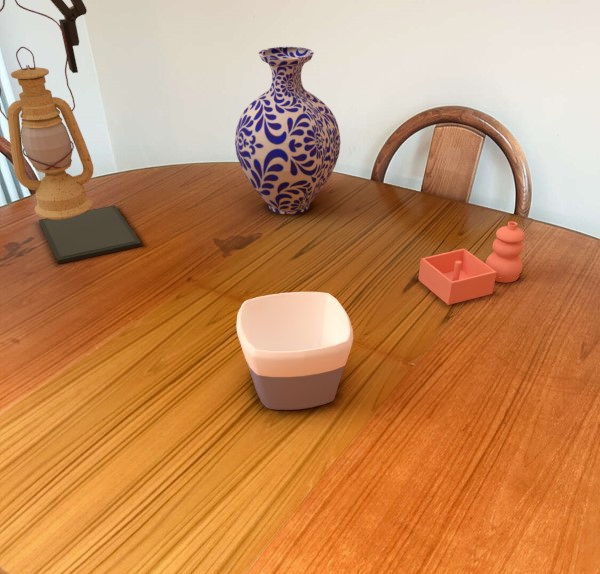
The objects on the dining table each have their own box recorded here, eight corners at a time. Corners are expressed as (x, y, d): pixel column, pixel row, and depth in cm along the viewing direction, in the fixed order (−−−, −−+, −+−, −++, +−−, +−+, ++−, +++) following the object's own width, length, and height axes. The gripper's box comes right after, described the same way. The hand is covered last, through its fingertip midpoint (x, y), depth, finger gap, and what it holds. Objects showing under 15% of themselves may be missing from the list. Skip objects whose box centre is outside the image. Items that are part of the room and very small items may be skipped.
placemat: (58, 264, 123) (57, 259, 122) (39, 223, 136) (38, 219, 136) (141, 246, 128) (141, 241, 127) (115, 208, 142) (114, 204, 141)
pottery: (448, 305, 111) (456, 251, 104) (418, 279, 117) (424, 228, 111) (533, 282, 116) (546, 231, 110) (500, 259, 123) (511, 209, 117)
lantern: (99, 191, 113) (55, -12, 94) (103, 214, 106) (56, -1, 87) (27, 200, 111) (-34, -7, 91) (25, 224, 103) (-41, 5, 84)
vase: (219, 204, 143) (205, 52, 124) (292, 178, 154) (290, 35, 135) (284, 236, 131) (281, 73, 112) (358, 206, 142) (367, 53, 123)
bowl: (335, 349, 101) (338, 285, 94) (359, 413, 89) (364, 346, 82) (236, 360, 99) (230, 295, 92) (247, 427, 87) (242, 359, 80)
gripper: (-120, -113, 75) (-53, 91, 89) (87, -117, 83) (118, 71, 97) (-120, -115, 80) (-57, 79, 94) (75, -118, 88) (106, 61, 102)
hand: (32, 75), depth 96 cm, fingers closed on lantern, 11 cm apart
